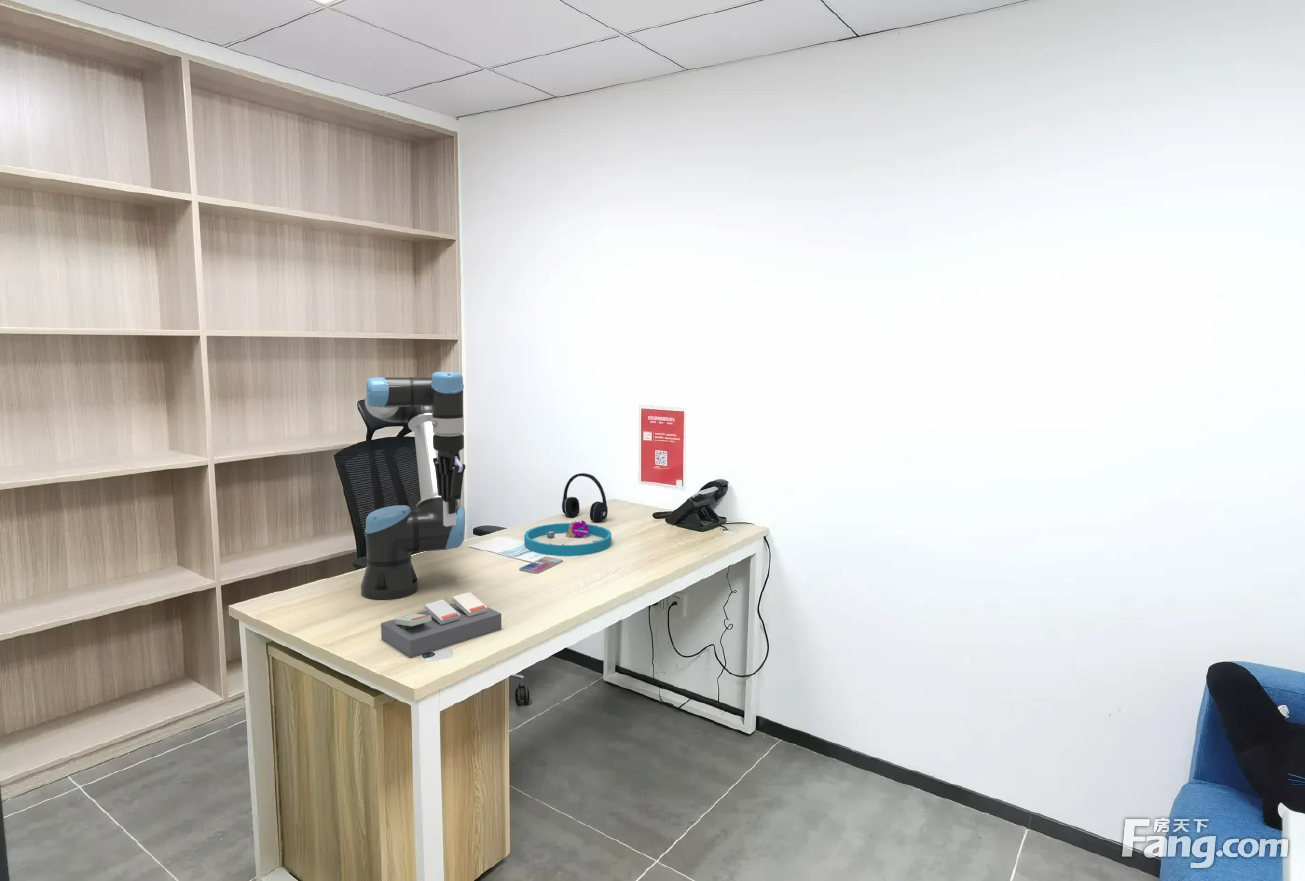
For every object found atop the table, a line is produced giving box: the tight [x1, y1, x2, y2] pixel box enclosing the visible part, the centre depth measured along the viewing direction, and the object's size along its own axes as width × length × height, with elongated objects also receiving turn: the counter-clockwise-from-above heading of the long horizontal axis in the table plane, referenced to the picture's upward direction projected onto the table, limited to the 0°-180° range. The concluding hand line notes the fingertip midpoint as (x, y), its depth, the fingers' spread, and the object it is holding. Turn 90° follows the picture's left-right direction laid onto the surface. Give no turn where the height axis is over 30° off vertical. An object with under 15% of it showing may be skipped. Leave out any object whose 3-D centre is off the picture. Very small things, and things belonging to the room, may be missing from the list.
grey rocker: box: [423, 599, 460, 625], centre depth 177 cm, size 8×5×1 cm, turn 46°
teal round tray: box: [523, 520, 612, 557], centre depth 257 cm, size 30×30×6 cm
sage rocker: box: [394, 613, 432, 626], centre depth 171 cm, size 8×5×1 cm, turn 45°
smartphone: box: [518, 556, 564, 575], centre depth 232 cm, size 7×1×15 cm
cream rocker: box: [451, 591, 488, 617], centre depth 182 cm, size 8×5×1 cm, turn 46°
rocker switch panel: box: [380, 602, 502, 659], centre depth 179 cm, size 19×24×5 cm
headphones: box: [561, 472, 609, 523], centre depth 290 cm, size 20×7×18 cm, turn 57°
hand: (449, 524), depth 189 cm, fingers closed
